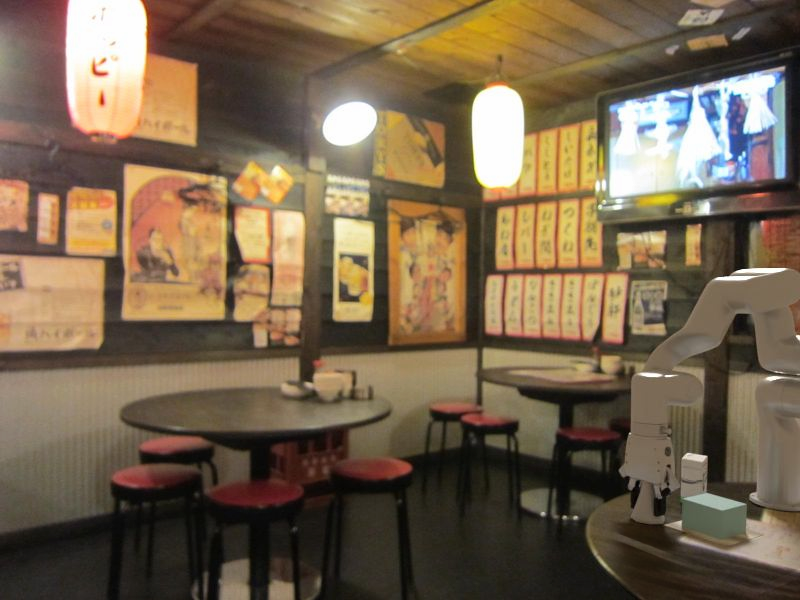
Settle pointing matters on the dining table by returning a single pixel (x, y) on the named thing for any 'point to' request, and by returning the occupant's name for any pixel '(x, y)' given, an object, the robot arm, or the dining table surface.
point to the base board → (725, 542)
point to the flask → (646, 506)
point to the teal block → (714, 516)
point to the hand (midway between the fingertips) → (647, 510)
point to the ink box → (693, 475)
